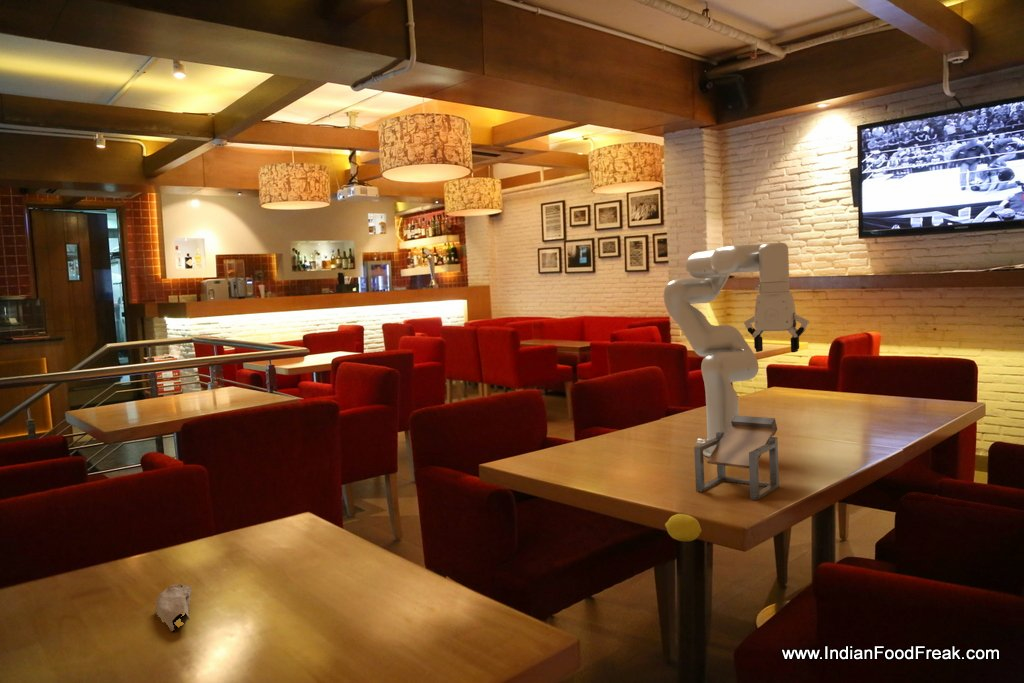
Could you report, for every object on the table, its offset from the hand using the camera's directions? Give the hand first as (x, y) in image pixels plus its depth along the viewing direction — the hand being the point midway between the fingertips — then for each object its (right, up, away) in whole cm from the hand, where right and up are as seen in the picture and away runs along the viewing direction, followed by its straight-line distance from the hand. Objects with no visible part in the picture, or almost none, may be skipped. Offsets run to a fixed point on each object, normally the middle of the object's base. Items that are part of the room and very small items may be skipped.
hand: (776, 351), depth 198 cm
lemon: (-40, -36, -44) cm, 69 cm away
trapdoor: (-12, -25, -9) cm, 29 cm away
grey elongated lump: (-131, -46, -70) cm, 155 cm away
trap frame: (-14, -35, -12) cm, 40 cm away
